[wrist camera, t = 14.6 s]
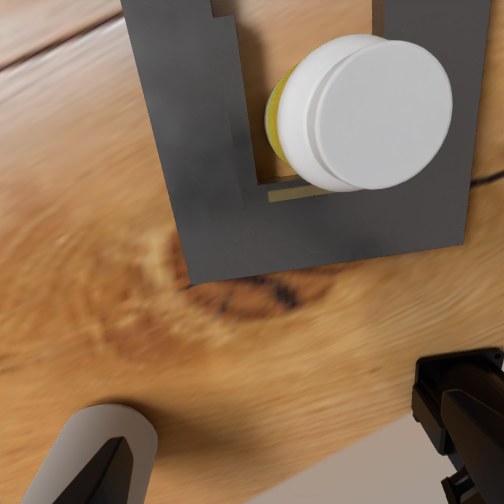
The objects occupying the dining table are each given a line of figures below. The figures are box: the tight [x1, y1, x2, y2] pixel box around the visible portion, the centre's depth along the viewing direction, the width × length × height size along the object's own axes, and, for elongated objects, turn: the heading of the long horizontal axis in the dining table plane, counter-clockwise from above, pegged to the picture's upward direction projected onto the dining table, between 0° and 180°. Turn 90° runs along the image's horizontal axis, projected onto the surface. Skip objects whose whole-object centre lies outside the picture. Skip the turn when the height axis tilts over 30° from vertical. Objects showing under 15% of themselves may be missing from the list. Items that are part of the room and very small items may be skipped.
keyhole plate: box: [120, 0, 491, 285], centre depth 16 cm, size 17×24×2 cm
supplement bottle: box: [264, 34, 453, 192], centre depth 14 cm, size 5×5×10 cm
